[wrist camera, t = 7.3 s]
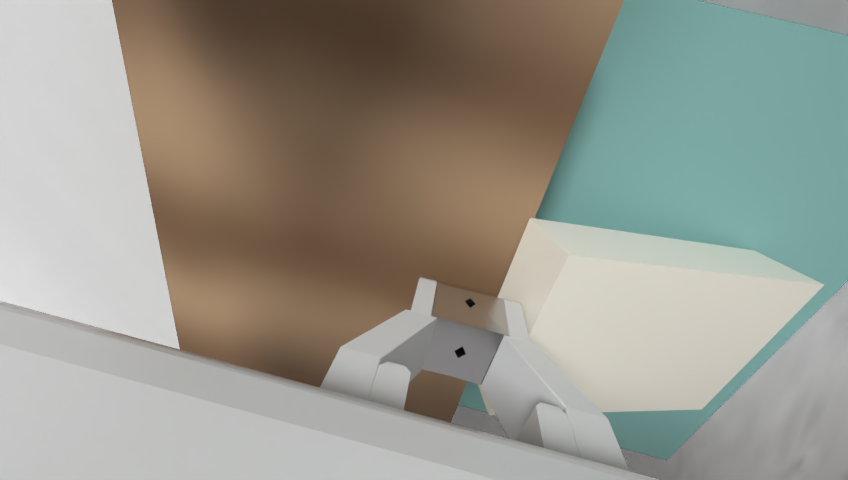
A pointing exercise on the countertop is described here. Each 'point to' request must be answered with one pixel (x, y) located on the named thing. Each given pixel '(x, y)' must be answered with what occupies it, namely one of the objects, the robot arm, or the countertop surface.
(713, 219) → the mat
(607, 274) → the cream block
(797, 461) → the countertop surface
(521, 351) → the robot arm
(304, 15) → the brown flat block
